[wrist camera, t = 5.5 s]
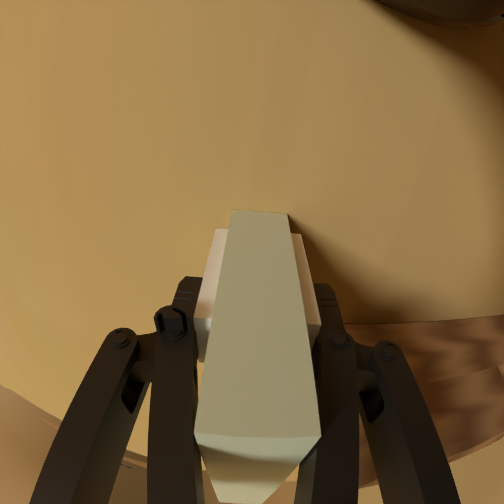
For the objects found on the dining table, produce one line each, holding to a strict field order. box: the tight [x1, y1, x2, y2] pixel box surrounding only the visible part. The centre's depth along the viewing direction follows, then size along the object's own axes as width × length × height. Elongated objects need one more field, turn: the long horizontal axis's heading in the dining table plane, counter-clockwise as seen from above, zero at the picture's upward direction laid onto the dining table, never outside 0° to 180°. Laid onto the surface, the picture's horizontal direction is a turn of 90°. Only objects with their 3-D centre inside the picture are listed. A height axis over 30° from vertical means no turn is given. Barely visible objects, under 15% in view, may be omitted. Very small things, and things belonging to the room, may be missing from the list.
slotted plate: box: [194, 210, 321, 504], centre depth 15 cm, size 16×3×12 cm, turn 177°
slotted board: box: [344, 315, 504, 489], centre depth 16 cm, size 24×3×12 cm, turn 87°
